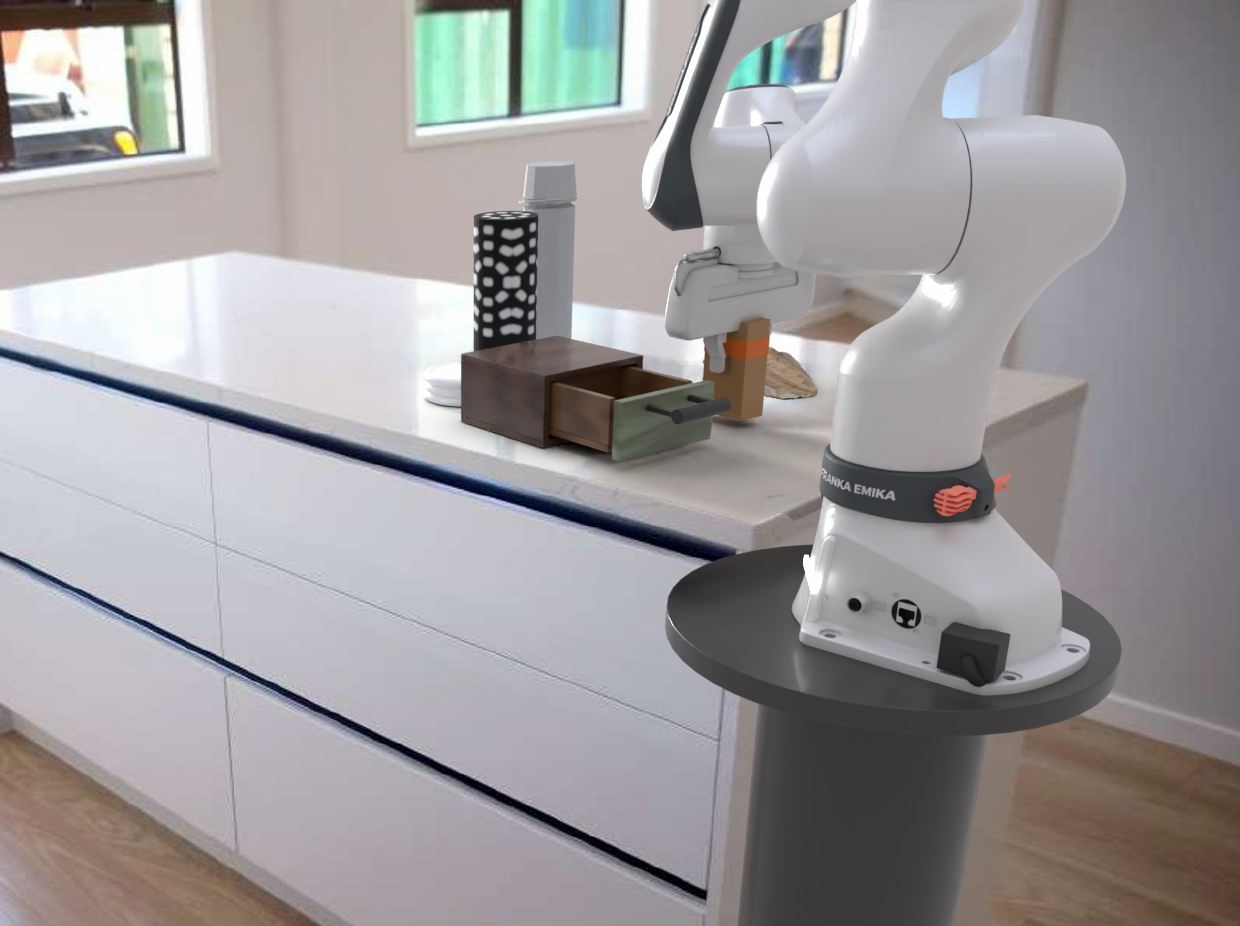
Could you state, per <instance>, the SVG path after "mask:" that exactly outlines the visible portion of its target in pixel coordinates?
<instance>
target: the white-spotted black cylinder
mask: <svg viewBox="0 0 1240 926" xmlns="http://www.w3.org/2000/svg"><path fill="white" fill-rule="evenodd" d="M538 216H539V214H538V213H535V212H528V211H523V210H497V211H486V212H480V213H477V214H474V215H473V351H478V350H484V349H489V348H494V347H499V346H505V345H510V344H515V343H520V342H526V341H531V340H536V319H537V267H538Z"/></svg>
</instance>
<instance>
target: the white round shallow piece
mask: <svg viewBox="0 0 1240 926" xmlns="http://www.w3.org/2000/svg"><path fill="white" fill-rule="evenodd" d="M423 379H424V382H423V388H424V391H423V396H424V397H425V399H426V400H427V401H428V402H430V403H433V404H436V405H440V406H447V407H461V361H452V362H445V363H439V364H435V365H432V366H430V367H428V368H427V369H426V370H425V371H424V373H423Z"/></svg>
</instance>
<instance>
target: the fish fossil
mask: <svg viewBox="0 0 1240 926" xmlns="http://www.w3.org/2000/svg"><path fill="white" fill-rule="evenodd" d="M703 362H704V359H703ZM813 380H814V379H812V377H811V376H810V375H809V374H808V373H807V371H806V370H805V369H804V368H803V367H802V365H801V364H800V362H798V361H797V360H796V358H795V357H793V355H792V354H790V353H789V352H785V351H778V350H777V349H775V348H774V347H772V346H769V353H768V356H767V367H766V379H765V390H764V396H765V397H769V398H770V397H771V398H778V399H781V400H782V399H783V400H784V399H795V400H796V399H798V398H810V397H815V396H816V394H817V392H818V390H819V389H818V388H817V385H816V384H815V381H813Z"/></svg>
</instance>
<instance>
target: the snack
mask: <svg viewBox="0 0 1240 926" xmlns="http://www.w3.org/2000/svg"><path fill="white" fill-rule="evenodd" d="M770 321H771V319H767V318H758V319H753V320H749V321H744V322H741V323H740V328H739V330H738V331H734V332H729V333H727V338H726V342H725V343H722V344H723V347H724V351H725V354H726V355H728V356H731V362H730V370H729V371H725V372H722V373H716V372H711V371H710V368H709V364H710V355H709V354H708V351H707V349H706V347H705V345H703V346H704V347H703V352H704V356H703V360H704V361H703V369H702V370H703V371H702V381H704V380H709V381H713V382H715V383H714V396H713V400H715V399H720V398H724V397H725V398H728V399H729V400H730V402H731V409H730V411H729V412H728V413H724V414H720V415H717V416H719V417H723V418H725V419H730V420H733V421H737V422H744V421H748V420H751V419H756V418H759V417H762V416H763V413H764V400H765V395H764V390H765V379H766V367H767V356H768V353H769V347H770V342H771V341H770V339H771V338H770V337H771V336H770V337H769V332H770Z"/></svg>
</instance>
